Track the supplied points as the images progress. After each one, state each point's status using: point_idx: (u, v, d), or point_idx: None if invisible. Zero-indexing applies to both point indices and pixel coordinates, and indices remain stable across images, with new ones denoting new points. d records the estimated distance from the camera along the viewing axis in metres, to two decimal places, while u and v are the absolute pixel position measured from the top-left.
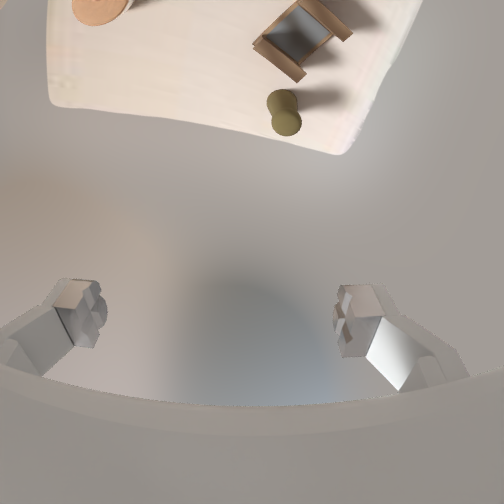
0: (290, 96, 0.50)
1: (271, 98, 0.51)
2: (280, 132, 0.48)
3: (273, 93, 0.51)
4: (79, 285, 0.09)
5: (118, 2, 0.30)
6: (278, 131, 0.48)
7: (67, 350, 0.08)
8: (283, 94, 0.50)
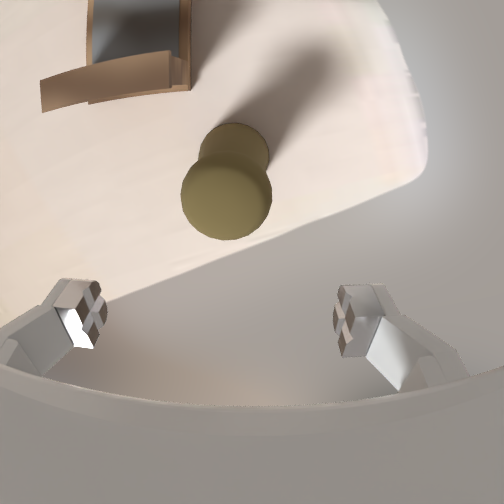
0: (226, 130, 0.21)
1: None
2: (225, 235, 0.17)
3: (199, 152, 0.24)
4: (79, 285, 0.09)
5: None
6: (219, 236, 0.17)
7: (67, 350, 0.08)
8: (210, 138, 0.22)
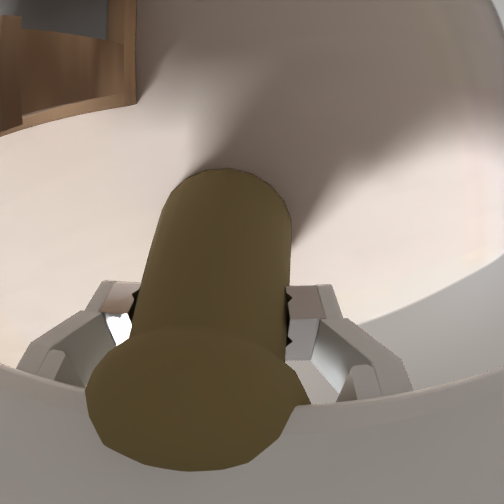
0: (204, 194, 0.10)
1: None
2: None
3: None
4: (127, 288, 0.09)
5: None
6: None
7: None
8: (171, 211, 0.10)
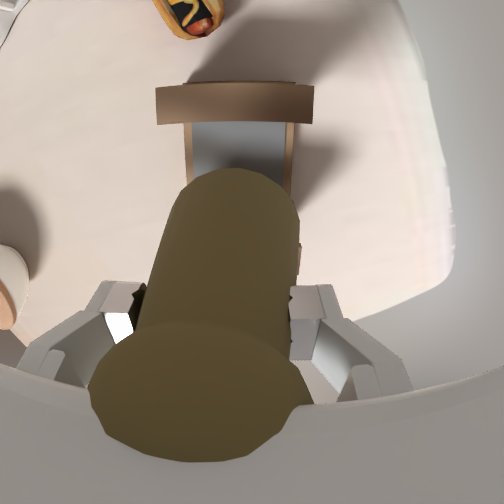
0: (214, 192, 0.10)
1: None
2: None
3: None
4: (126, 288, 0.09)
5: None
6: None
7: None
8: (181, 209, 0.11)
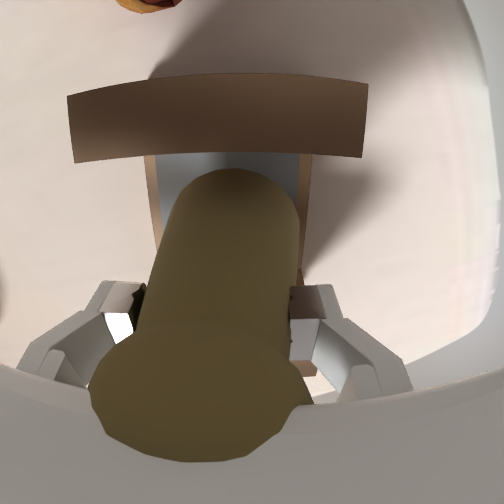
0: (214, 192, 0.10)
1: None
2: None
3: None
4: (126, 288, 0.09)
5: None
6: None
7: None
8: (181, 209, 0.11)
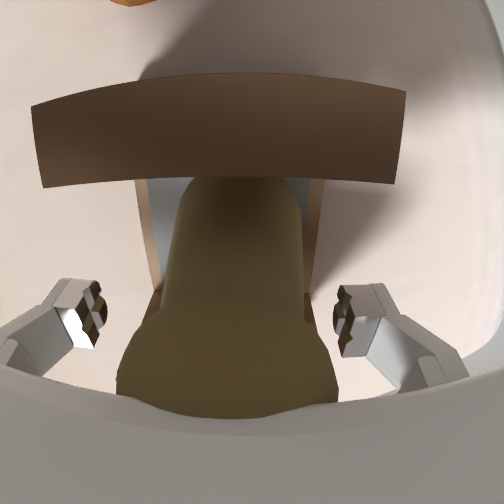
0: (225, 183, 0.11)
1: None
2: None
3: None
4: (79, 285, 0.09)
5: None
6: None
7: (67, 350, 0.08)
8: (193, 198, 0.11)
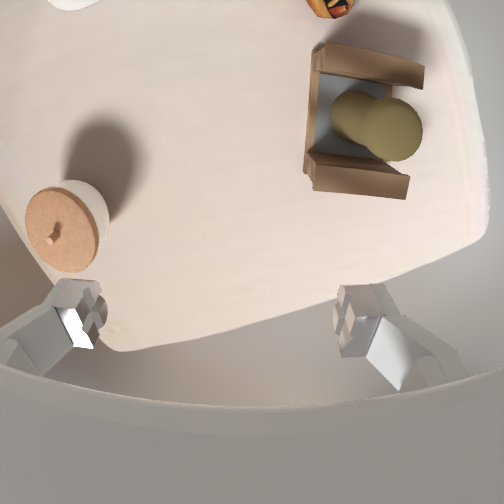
0: (361, 93, 0.25)
1: (336, 116, 0.26)
2: (396, 154, 0.20)
3: (333, 108, 0.27)
4: (79, 285, 0.09)
5: (81, 229, 0.28)
6: (392, 154, 0.20)
7: (67, 350, 0.08)
8: (350, 96, 0.25)
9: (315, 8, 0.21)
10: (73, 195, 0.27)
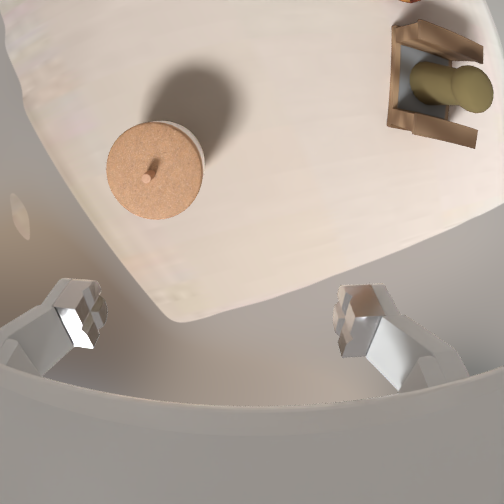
0: (435, 63, 0.25)
1: (418, 79, 0.27)
2: (480, 106, 0.20)
3: (413, 73, 0.27)
4: (79, 285, 0.09)
5: (187, 165, 0.28)
6: (477, 106, 0.20)
7: (67, 350, 0.08)
8: (428, 65, 0.25)
9: None
10: (179, 129, 0.27)
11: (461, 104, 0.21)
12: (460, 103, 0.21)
